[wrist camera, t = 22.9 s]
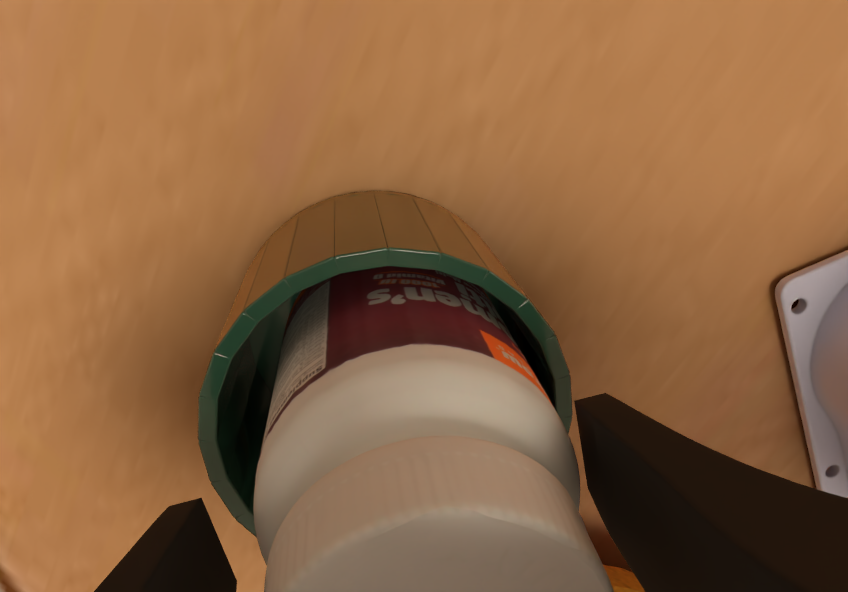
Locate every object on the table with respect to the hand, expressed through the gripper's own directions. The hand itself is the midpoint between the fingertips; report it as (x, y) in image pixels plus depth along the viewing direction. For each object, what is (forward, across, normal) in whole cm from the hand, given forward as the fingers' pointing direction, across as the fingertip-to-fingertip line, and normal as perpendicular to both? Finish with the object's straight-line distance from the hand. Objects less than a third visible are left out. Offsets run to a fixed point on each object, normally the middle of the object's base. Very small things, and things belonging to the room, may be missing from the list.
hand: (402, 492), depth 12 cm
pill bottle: (+8, 0, 0) cm, 8 cm away
